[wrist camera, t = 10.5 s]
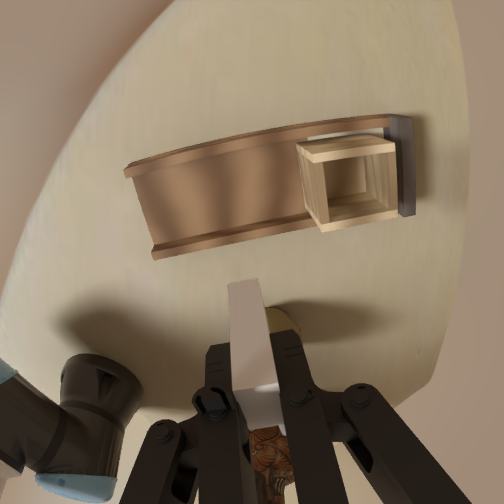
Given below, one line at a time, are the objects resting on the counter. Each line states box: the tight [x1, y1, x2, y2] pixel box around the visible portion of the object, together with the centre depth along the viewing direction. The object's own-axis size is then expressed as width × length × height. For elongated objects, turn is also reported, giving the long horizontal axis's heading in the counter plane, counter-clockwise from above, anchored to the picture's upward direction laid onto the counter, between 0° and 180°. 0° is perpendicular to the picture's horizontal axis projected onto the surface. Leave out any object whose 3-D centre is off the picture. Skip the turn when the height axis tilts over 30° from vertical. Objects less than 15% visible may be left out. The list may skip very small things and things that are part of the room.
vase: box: [247, 425, 295, 504], centre depth 41 cm, size 12×12×30 cm
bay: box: [123, 114, 416, 260], centre depth 33 cm, size 30×11×5 cm, turn 101°
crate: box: [296, 133, 398, 232], centre depth 30 cm, size 8×7×7 cm
